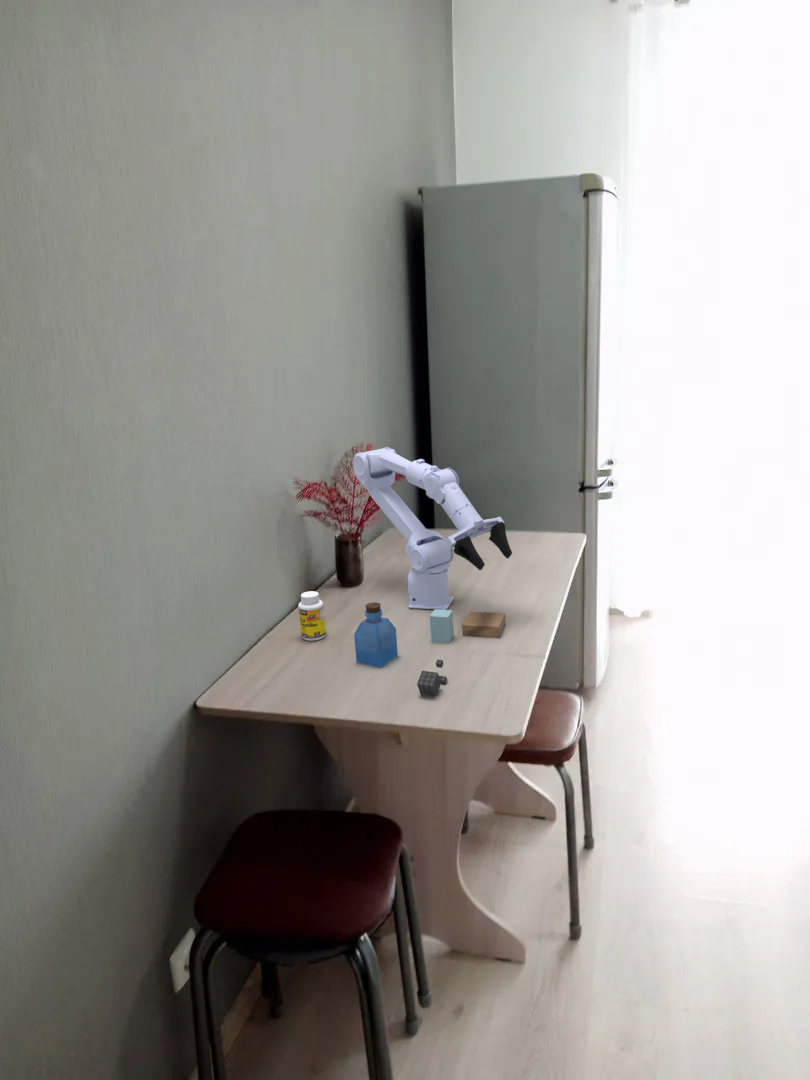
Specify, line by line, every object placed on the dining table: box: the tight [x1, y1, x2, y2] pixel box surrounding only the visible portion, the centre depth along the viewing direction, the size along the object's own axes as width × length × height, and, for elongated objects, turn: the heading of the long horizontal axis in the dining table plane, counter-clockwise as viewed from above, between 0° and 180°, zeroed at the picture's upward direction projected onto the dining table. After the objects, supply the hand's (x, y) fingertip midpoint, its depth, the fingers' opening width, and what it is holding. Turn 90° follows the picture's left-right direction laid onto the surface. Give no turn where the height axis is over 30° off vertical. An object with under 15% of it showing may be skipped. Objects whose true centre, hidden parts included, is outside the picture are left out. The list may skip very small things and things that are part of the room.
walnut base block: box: [461, 610, 506, 639], centre depth 180 cm, size 8×8×3 cm
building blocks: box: [416, 659, 448, 697], centre depth 155 cm, size 3×6×8 cm
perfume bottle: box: [353, 601, 399, 669], centre depth 168 cm, size 6×6×12 cm
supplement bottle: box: [297, 590, 327, 642], centre depth 181 cm, size 6×6×10 cm
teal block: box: [429, 609, 455, 644], centre depth 176 cm, size 4×4×6 cm
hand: (496, 561), depth 177 cm, fingers open, 7 cm apart
